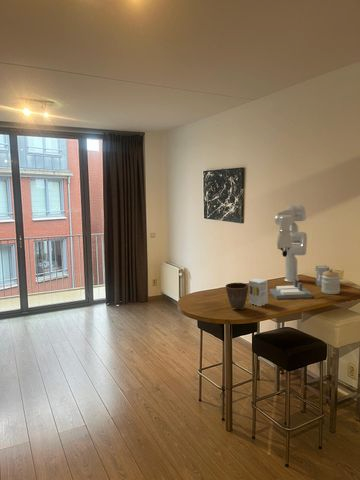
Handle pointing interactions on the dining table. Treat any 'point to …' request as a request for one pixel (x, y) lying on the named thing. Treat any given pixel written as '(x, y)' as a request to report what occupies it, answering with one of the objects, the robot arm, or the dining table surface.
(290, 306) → the dining table surface
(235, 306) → the plant pot
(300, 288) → the breaker handle
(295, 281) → the breaker handle
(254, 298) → the supplement box
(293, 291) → the breaker panel
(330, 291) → the jar
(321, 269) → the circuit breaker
